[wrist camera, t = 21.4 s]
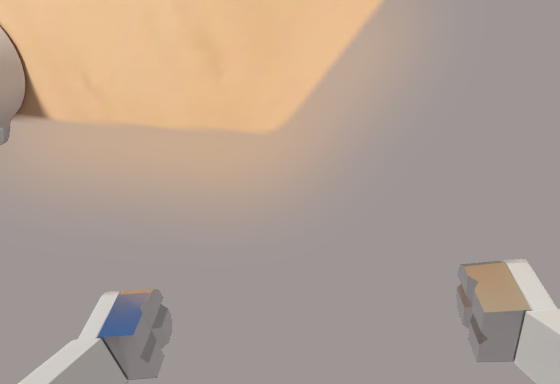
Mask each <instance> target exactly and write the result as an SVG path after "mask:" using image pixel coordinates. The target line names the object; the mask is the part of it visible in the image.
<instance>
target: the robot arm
mask: <svg viewBox="0 0 560 384" xmlns="http://www.w3.org/2000/svg"><path fill="white" fill-rule="evenodd" d="M24 95H25V76H24V71H23V67H22V64H21V61H20V58H19V56H18V54H17V51H16V49H15V48H14V46H13V44H12V42H11V41H10V39H9V38H8V36H7V35H6V33H5V32H4V31H3V30H2V28H1V27H0V145H2V144H3V143H5V142H6V141H7V140H8V138H9V131H10V122H11V120H12V118H13V116H14V115H15V114H16V113H17V111H18V110H19V108H20V107H21V104H22V102H23V99H24ZM458 276H459V279H460V281H461V285H459V286H458V287H457V306H458V310H459V315H460V318H461V321H462V323H463V325H465V326H466V327H467V328H469V337H468V339H469V342H470V345H471V347H472V350H473V353H474V355H475V358H476V360H477V362H514V363H515V364H516V365H517V366H518V367H519V368H520V369H521V370H522V371H523V372H524V373H525V374H526V375H528V376H529V377H530V378H531V379H532V380H533V381H534V382H535V383H536V384H560V309H557V308H556V306H555V304H554V303H553V301H552V299H551V298H550V296H549V295H548V293H547V292H546V290H545V288H544V287H543V285H542V284H541V282H540V281H539V279H538V277H537V276H536V275H535V273H534V271H533V269H532V268H531V266H530V265H529V263H528V262H527V261H526V260H525V259H514V260H504V261H492V262H482V263H471V264H461V265H460V267H459V271H458ZM162 299H163V297H162V295H161V293H160V291H159V290H157V289H146V290H127V291H116V292H106V293H104V294H103V295H102V296H101V298H100V300H99V302H98V303H97V305H96V307H95V309H94V311H93V312H92V314H91V316H90V318H89V320H88V322H87V323H86V325H85V327H84V329H83V331H82V333H81V335H80V336H79V338H78V340H72V341H71V342H70V343H68V344H67V345H66V346H65V347H63V348H62V349H61V350H60V351H59V352H57V353H56V354H55V355H54V356H52V357H51V358H50V359H48V360H47V361H46V362H45V363H43V364H42V365H41V366H40V367H38V368H37V369H36V370H35V371H34V372H32V373H31V374H30V375H28V376H27V377H26V378H25V379H23V380H22V381H21V382H20V383H18V384H127V382H128V381H127V380H136V379H147V378H157V376H158V373H159V370H160V367H161V364H162V361H163V358H164V355H163V352H162V350H161V349H162V348H163V347H164V346H165V345H166V344H167V343H168V342H169V340H170V336H171V333H172V319H171V314H170V312H169V310H168V308H166V307H164V306H163V305H162V304H161V302H162Z"/></svg>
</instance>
